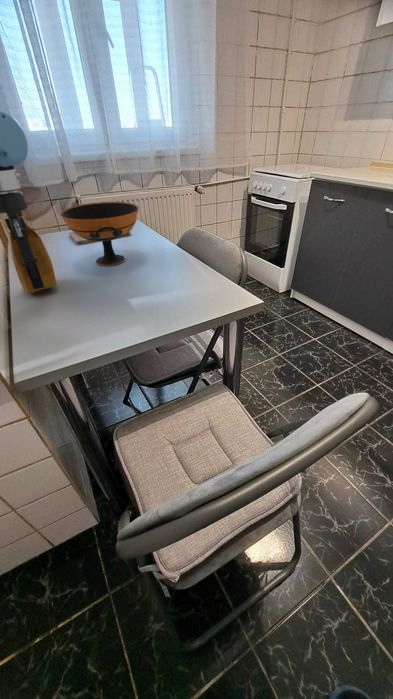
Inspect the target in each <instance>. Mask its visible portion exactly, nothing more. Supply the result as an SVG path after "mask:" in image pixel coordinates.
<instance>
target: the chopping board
mask: <svg viewBox="0 0 393 699" xmlns="http://www.w3.org/2000/svg"><path fill="white" fill-rule="evenodd" d="M68 233H69V234H68V235H69V237H70V238H71V239H72V240H73V241H74V243H75V244H76V245H77V246H80V245H86V244H91V243H96V242H97V241H92V240H87V239H84V238H82V237H80V236H78V235H76V234H75V233H74V232H73V231H70V232H68ZM129 236H131V231H130V232H129V233H127V234H126V235H124V236H122V237H121V238H125V237H129Z"/></svg>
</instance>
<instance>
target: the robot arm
mask: <svg viewBox="0 0 393 699" xmlns="http://www.w3.org/2000/svg"><path fill="white" fill-rule="evenodd" d="M28 145H29V144H28V139H27V136H26V134H25V131H24V129H23V128H22V126H21V125H20V123H19V122H18V120H16V118H14V117H13V116H12V115H10V114H9V113H7V112H5V111H0V214H6V216H7V218H4V222H5V224H6V227H7V229H8V230H9V233H10V232H11V234H12V237H13V239H14V240H16V241H17V244H18V247H19V249H20V252H21V255H22V258H23V262H24V264H22V266H23V267H26V270H27V272H28V275H29V278H30V280H31V283H32V286H33V288H34V289H39V288H43V287H44V285H43V282H42V279H41V276H40V273H39V270H38V267H37V265H36V262H38V261H37V259H34V257H33V254H32V251H31V248H30V245H29V242H28V239H27V238H28V234H27V231H26V228H25V227H26V225H25V223H26V221H25V219H24V218H23V216H21V217H19V216H18V213H17V212H18V211H21V212H23V211H25V210H27V209H28V204H27V201H26V198H25V194H24V192H22V190H21V188H22V187H21V183H20V180H18V179H21V175H20V173H16V169H15V166H19V165H22V164H23V163H24V162H25V161H26V159H27V157H28V153H29V152H28V149H29V148H28V147H29V146H28Z"/></svg>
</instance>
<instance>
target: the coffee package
mask: <svg viewBox="0 0 393 699" xmlns="http://www.w3.org/2000/svg"><path fill="white" fill-rule="evenodd" d="M17 213H18V216H19V217H23V216H24V213H23V211H18V212H17ZM25 225H26V227H25V228H26V231H27V234H28V238H27V239H28V242H29V245H30V248H31V251H32V254H33V257H34V259H37V261H38V262H36V265H37V267H38V270H39V273H40V276H41V279H42V282H43V285H44V287H43V288H39V289H34V288H33V286H32V283H31V280H30V278H29V275H28V272H27V270H26V267H23V266H22V264H24V262H23V258H22V255H21V252H20V249H19V247H18V244H17V241H16V240H14V239H13V237H12V234H11V232H10V231H9V239H10V252H11V256H12V261H13V265H14V268H15V271H16V274H17V277H18V280H19V282H20V285H21V287H22V289H23V291H25V292H26V293H27V294H33V293H36V292H39V291H42V290H46V289H51V288H53V287H56V286H57V281H56V280H57V279H56V274H55V270H54V265H53V262H52V260H51V257H50V255H49V253H48V250H47V248H46V246H45V244H44V242H43V240H42V238H41V236H40V235H39V234H38V233H37V232H36V231H35V230H34V229H33V228H32V226H30V225H28V224H27V223H26V222H25Z"/></svg>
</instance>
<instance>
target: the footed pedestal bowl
mask: <svg viewBox="0 0 393 699" xmlns="http://www.w3.org/2000/svg"><path fill="white" fill-rule="evenodd" d="M139 209H140V208H139V206H138V205H137V204H134V203H131V202H123V201H101V202H92V203H83V204H79V205H75V206H70V207H68V208H66V209H63V210H62V211H61V212H60V213H59V214H60V217H61V218H62V219H63V221H64V222H65V224H66V225H67V227H68V228H69V230H70V231H71V232H74V233H75V234H76V235H78V236H80V237H82V238H84V239H87V240H92V241H96V242H101V243H102V246H103V255H102V256H100V257H98V258H97V259H96V260H95V263H96V264H97V265H99V266H103V267H108V266H111V267H112V266H115V265H119V264H120V265H121V264H122V263H123V262H125V259H126V258H125V256H124V255H121V254H116V253H115V251H114V248H113V243H112V241H114V240H117V239H120V238H123V237H122V236H124V235H126V234H127V233H129V232H130V233H131V231H132V230H133V228H134V226H135V224H136V222H137V218H138V213H139ZM124 237H125V236H124Z"/></svg>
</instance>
